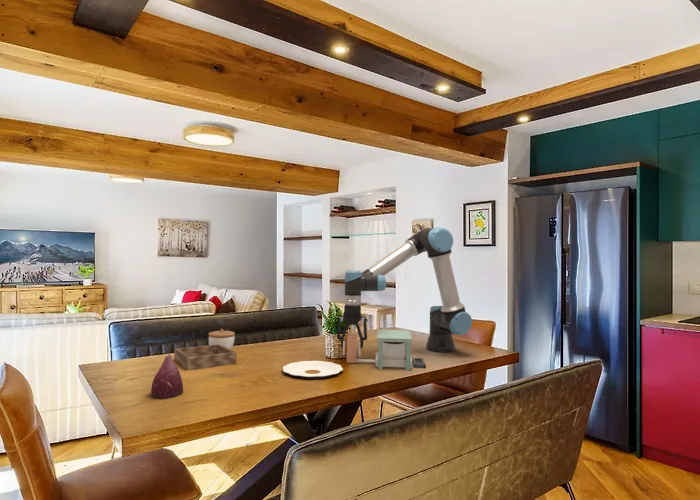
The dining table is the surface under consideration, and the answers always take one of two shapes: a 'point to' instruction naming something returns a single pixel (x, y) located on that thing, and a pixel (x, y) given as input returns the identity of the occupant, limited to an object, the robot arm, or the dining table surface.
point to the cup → (394, 350)
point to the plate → (302, 366)
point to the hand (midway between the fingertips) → (351, 354)
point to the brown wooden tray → (204, 356)
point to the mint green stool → (394, 337)
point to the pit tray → (418, 363)
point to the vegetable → (167, 381)
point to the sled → (352, 359)
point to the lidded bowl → (222, 338)
